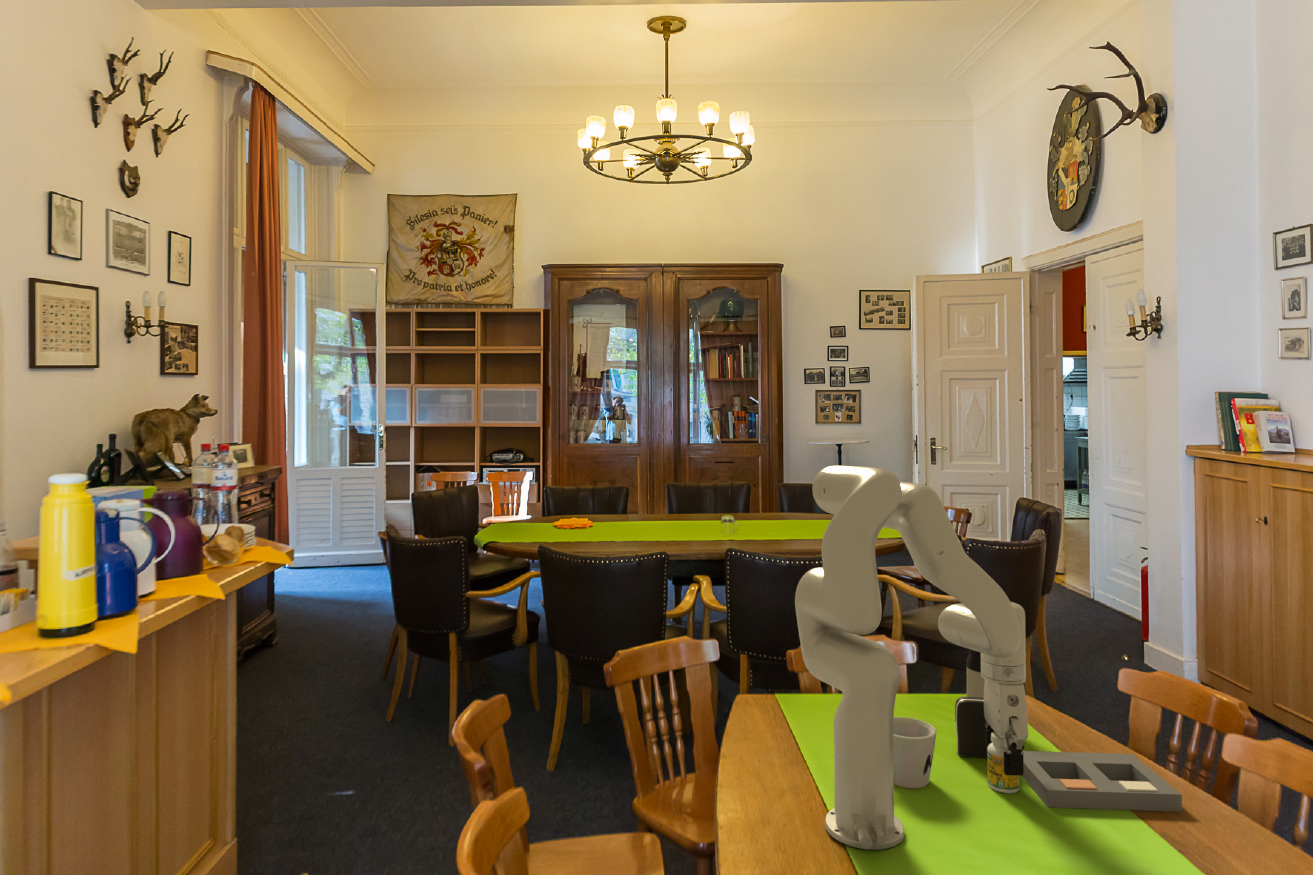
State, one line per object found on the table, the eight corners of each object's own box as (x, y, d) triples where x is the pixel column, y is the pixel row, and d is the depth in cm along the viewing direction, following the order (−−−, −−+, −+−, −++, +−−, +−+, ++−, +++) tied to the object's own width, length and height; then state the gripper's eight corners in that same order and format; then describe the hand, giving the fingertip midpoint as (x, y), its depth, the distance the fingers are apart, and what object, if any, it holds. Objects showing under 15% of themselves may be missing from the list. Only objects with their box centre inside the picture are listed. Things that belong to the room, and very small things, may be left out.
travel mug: (958, 724, 169) (958, 643, 169) (984, 718, 172) (984, 639, 172) (988, 737, 162) (987, 653, 162) (1014, 730, 165) (1014, 648, 165)
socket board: (1181, 811, 130) (1181, 792, 130) (1047, 807, 132) (1047, 788, 132) (1132, 769, 146) (1132, 752, 146) (1013, 765, 148) (1013, 749, 148)
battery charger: (989, 751, 155) (989, 695, 155) (994, 759, 151) (994, 702, 151) (953, 748, 156) (953, 693, 156) (957, 756, 153) (957, 700, 153)
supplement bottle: (1026, 791, 138) (1026, 739, 138) (1002, 796, 137) (1001, 743, 136) (1004, 778, 143) (1004, 727, 143) (981, 782, 142) (980, 731, 142)
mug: (941, 795, 137) (941, 740, 137) (856, 788, 140) (855, 734, 140) (932, 769, 147) (932, 718, 147) (853, 763, 150) (852, 713, 150)
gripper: (1043, 686, 131) (1044, 785, 131) (1007, 655, 148) (1008, 743, 148) (998, 686, 131) (999, 784, 132) (967, 655, 149) (968, 742, 149)
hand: (1003, 762), depth 140 cm, fingers open, 9 cm apart
